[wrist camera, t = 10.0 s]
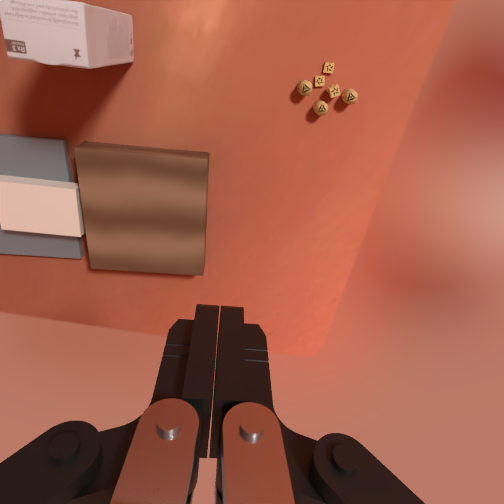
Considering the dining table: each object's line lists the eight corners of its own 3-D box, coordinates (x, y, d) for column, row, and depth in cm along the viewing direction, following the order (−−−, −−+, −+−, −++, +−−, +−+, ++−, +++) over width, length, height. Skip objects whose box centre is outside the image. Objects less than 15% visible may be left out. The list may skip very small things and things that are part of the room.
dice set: (355, 97, 40) (360, 99, 38) (314, 124, 41) (318, 127, 39) (334, 53, 37) (339, 53, 36) (292, 83, 39) (295, 84, 37)
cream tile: (0, 174, 41) (-10, 180, 39) (82, 183, 42) (75, 189, 40) (11, 222, 44) (1, 229, 42) (86, 229, 45) (80, 237, 43)
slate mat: (-87, 126, 39) (-93, 127, 38) (66, 139, 40) (62, 141, 39) (-45, 247, 46) (-50, 250, 45) (83, 255, 47) (81, 258, 47)
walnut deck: (84, 141, 40) (73, 147, 38) (209, 152, 41) (207, 159, 39) (98, 256, 47) (90, 268, 45) (204, 263, 49) (202, 275, 46)
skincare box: (133, 13, 35) (87, -4, 24) (135, 65, 37) (93, 70, 26) (67, 4, 34) (-10, -18, 24) (72, 57, 36) (5, 59, 26)
